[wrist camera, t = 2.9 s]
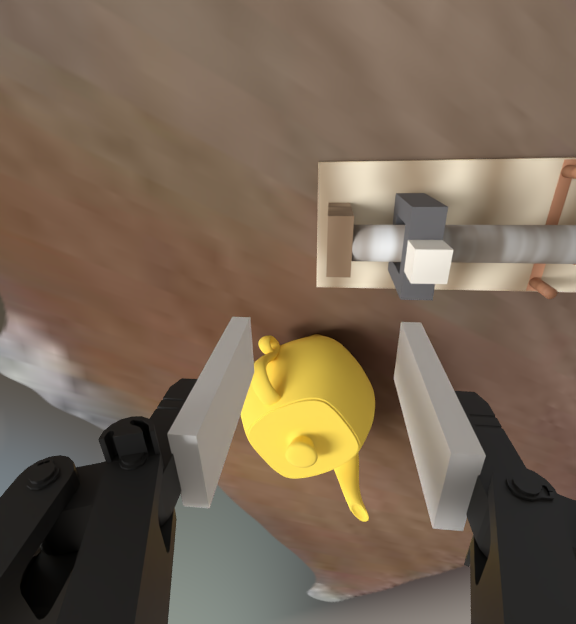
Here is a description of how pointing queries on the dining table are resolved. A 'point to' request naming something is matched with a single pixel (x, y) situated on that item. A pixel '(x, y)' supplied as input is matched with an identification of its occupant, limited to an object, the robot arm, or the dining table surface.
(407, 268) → the grey sliding frame
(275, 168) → the dining table surface
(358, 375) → the teapot
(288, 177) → the dining table surface
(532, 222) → the pipe rig
